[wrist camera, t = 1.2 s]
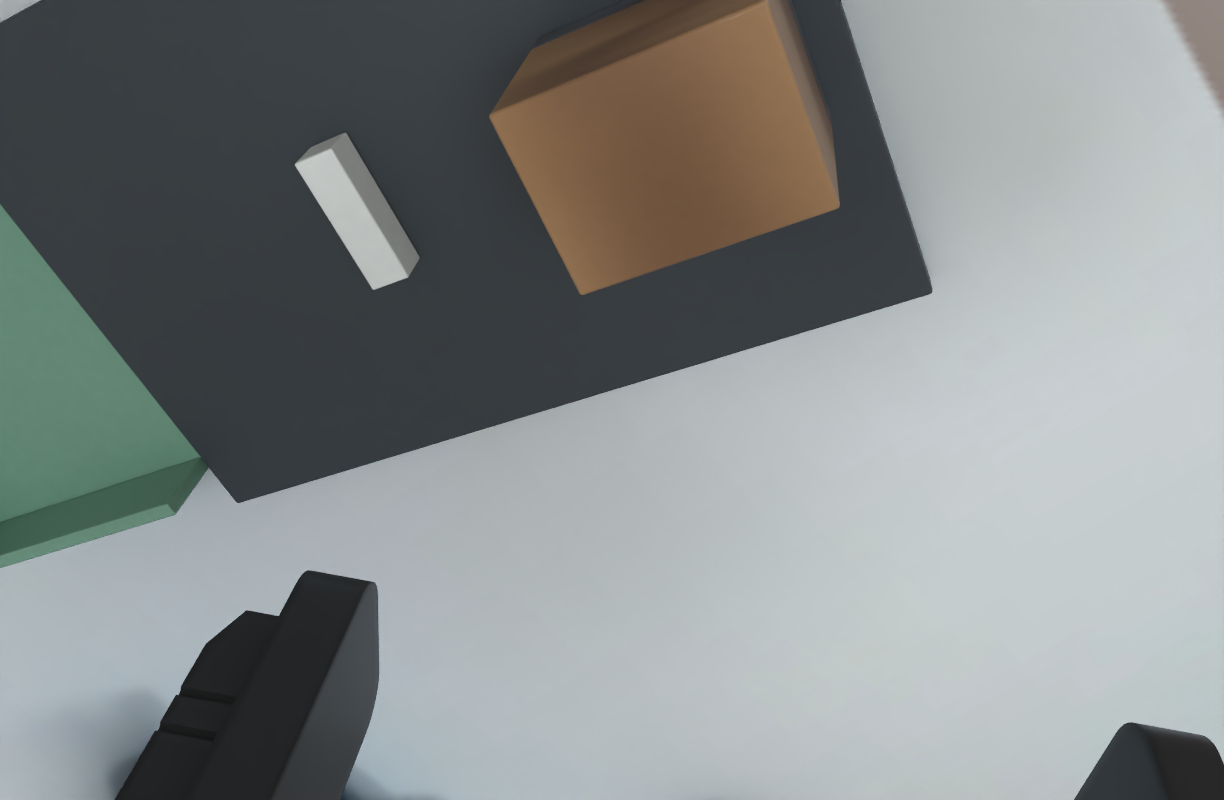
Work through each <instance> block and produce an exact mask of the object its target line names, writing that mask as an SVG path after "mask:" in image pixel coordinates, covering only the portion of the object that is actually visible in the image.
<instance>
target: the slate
mask: <svg viewBox="0 0 1224 800" xmlns="http://www.w3.org/2000/svg"><path fill="white" fill-rule="evenodd" d="M621 1H623V0H41V1H39V2H37V3H35V4H33V5H32V6H30V7H28V8H26V9H24V10H22V11H21V12H19V13H17V14H15V15H13V16H12V17H10V18H8V19H6V20H4V21H2V22H1V23H0V205H1V206H2V207H3V209H4V210H5V211H6V212H7V214H8V215H9V216H10V217H11V219H12V220H13V221H14V222H15V224H16V225H17V226H18V227H19V229H20V230H21V231H22V232H23V234H24V235H25V236H26V238H27V239H28V240H29V241H30V243H31V244H32V245H33V246H34V248H35V249H36V250H37V251H38V253H39V254H40V255H41V256H42V258H43V259H44V260H45V261H46V263H47V264H48V265H49V267H50V268H51V269H52V270H53V272H54V273H55V274H56V275H57V277H58V278H59V279H60V280H61V282H62V283H63V284H64V285H65V287H66V288H67V289H68V290H69V292H70V293H71V294H72V295H73V297H74V298H75V299H76V301H77V302H78V303H79V304H80V306H81V307H82V308H83V309H84V311H85V312H86V313H87V314H88V316H89V317H90V318H91V319H92V321H93V322H94V323H95V324H96V326H97V327H98V328H99V330H100V331H101V332H102V333H103V335H104V336H105V337H106V338H107V340H108V341H109V342H110V343H111V345H112V346H113V347H114V348H115V350H116V351H117V352H118V353H119V355H120V356H121V357H122V359H123V360H124V361H125V362H126V364H127V365H128V366H129V367H130V369H131V370H132V371H133V372H134V374H135V375H136V376H137V377H138V379H139V380H140V381H141V382H142V384H143V385H144V386H145V388H146V389H147V390H148V391H149V393H150V394H151V395H152V396H153V398H154V399H155V400H156V401H157V403H158V404H159V405H160V406H161V408H162V409H163V410H164V411H165V413H166V414H167V415H168V417H169V418H170V419H171V420H172V422H173V423H174V424H175V425H176V427H177V428H178V429H179V430H180V432H181V433H182V434H183V435H184V437H185V438H186V439H187V440H188V442H189V443H190V444H191V445H192V447H193V448H194V449H195V451H196V452H197V453H198V454H199V456H200V457H201V458H202V459H203V461H204V462H205V463H206V464H207V466H208V467H209V468H210V469H211V471H212V472H213V473H214V474H215V476H216V477H217V478H218V480H219V481H220V482H221V483H222V485H223V486H224V487H225V488H226V490H227V491H228V492H229V493H230V495H231V496H232V497H233V498H234V500H235V501H236V502H237V503H240V502H244V501H247V500H250V499H254V498H257V497H260V496H264V495H267V494H270V493H274V492H277V491H280V490H283V489H287V488H290V487H293V486H297V485H300V484H303V483H307V482H310V481H313V480H317V479H320V478H323V477H326V476H330V475H333V474H336V473H340V472H343V471H346V470H350V469H353V468H356V467H359V466H363V465H366V464H369V463H373V462H376V461H379V460H383V459H386V458H389V457H393V456H396V455H399V454H402V453H406V452H409V451H412V450H416V449H419V448H422V447H426V446H429V445H432V444H436V443H439V442H442V441H445V440H449V439H452V438H455V437H459V436H462V435H465V434H469V433H472V432H475V431H479V430H482V429H485V428H488V427H492V426H495V425H498V424H502V423H505V422H508V421H512V420H515V419H518V418H522V417H525V416H528V415H531V414H535V413H538V412H541V411H545V410H548V409H551V408H555V407H558V406H561V405H565V404H568V403H571V402H574V401H578V400H581V399H584V398H588V397H591V396H594V395H598V394H601V393H604V392H608V391H611V390H614V389H617V388H621V387H624V386H627V385H631V384H634V383H637V382H641V381H644V380H647V379H651V378H654V377H657V376H660V375H664V374H667V373H670V372H674V371H677V370H680V369H684V368H687V367H690V366H694V365H697V364H700V363H703V362H707V361H710V360H713V359H717V358H720V357H723V356H727V355H730V354H733V353H737V352H740V351H743V350H746V349H750V348H753V347H756V346H760V345H763V344H766V343H770V342H773V341H776V340H780V339H783V338H786V337H789V336H793V335H796V334H799V333H803V332H806V331H809V330H813V329H816V328H819V327H823V326H826V325H829V324H832V323H836V322H839V321H842V320H846V319H849V318H852V317H856V316H859V315H862V314H866V313H869V312H872V311H875V310H879V309H882V308H885V307H889V306H892V305H895V304H899V303H902V302H905V301H909V300H912V299H915V298H918V297H922V296H925V295H928V294H931V293H932V286H931V281H930V278H929V275H928V271H927V268H926V265H925V262H924V259H923V256H922V253H921V250H920V246H919V243H918V240H917V237H916V234H915V231H914V228H913V225H912V222H911V218H910V215H909V212H908V209H907V206H906V203H905V200H904V197H903V193H902V190H901V187H900V184H899V181H898V178H897V175H896V172H895V169H894V165H893V162H892V159H891V156H890V153H889V150H888V147H887V144H886V141H885V137H884V134H883V131H882V128H881V125H880V122H879V119H878V116H877V112H876V109H875V106H874V103H873V100H872V97H871V94H870V91H869V88H868V84H867V81H866V78H865V75H864V72H863V69H862V66H861V63H860V60H859V56H858V53H857V50H856V47H855V44H854V41H853V38H852V35H851V31H850V28H849V25H848V22H847V19H846V16H845V13H844V10H843V7H842V3H841V0H792V3H793V5H794V8H795V11H796V14H797V17H798V20H799V23H800V26H801V29H802V32H803V34H804V37H805V40H806V43H807V46H808V49H809V52H810V55H811V58H812V61H813V64H814V66H815V69H816V72H817V75H818V78H819V81H820V84H821V87H822V90H823V93H824V96H825V98H826V101H827V104H828V107H829V110H830V113H831V123H832V132H833V142H834V152H835V162H836V172H837V182H838V192H839V202H840V206H839V208H837V209H835V210H832V211H829V212H826V213H824V214H821V215H818V216H815V217H812V218H809V219H806V220H803V221H800V222H797V223H794V224H791V225H788V226H785V227H782V228H779V229H776V230H773V231H770V232H768V233H765V234H762V235H759V236H756V237H753V238H750V239H747V240H744V241H741V242H738V243H735V244H732V245H729V246H726V247H723V248H720V249H717V250H714V251H711V252H709V253H706V254H703V255H700V256H697V257H694V258H691V259H688V260H685V261H682V262H679V263H676V264H673V265H670V266H667V267H664V268H661V269H658V270H655V271H653V272H650V273H647V274H644V275H641V276H638V277H635V278H632V279H629V280H626V281H623V282H620V283H617V284H614V285H611V286H608V287H605V288H602V289H599V290H596V291H594V292H591V293H588V294H585V295H581V294H580V293H579V291H578V289H577V287H576V285H575V284H574V282H573V280H572V278H571V276H570V274H569V272H568V270H567V268H566V266H565V264H564V262H563V260H562V258H561V256H560V254H559V252H558V251H557V249H556V247H555V245H554V243H553V241H552V239H551V237H550V235H549V233H548V231H547V229H546V227H545V225H544V223H543V221H542V219H541V218H540V216H539V214H538V212H537V210H536V208H535V206H534V204H533V202H532V200H531V198H530V196H529V194H528V192H527V190H526V188H525V186H524V185H523V183H522V181H521V179H520V177H519V175H518V173H517V171H516V169H515V167H514V165H513V163H512V161H511V159H510V157H509V155H508V153H507V152H506V150H505V148H504V146H503V144H502V142H501V140H500V138H499V136H498V134H497V132H496V130H495V128H494V126H493V124H492V122H491V120H490V119H489V115H490V113H491V111H492V110H493V108H494V107H495V105H496V104H497V102H498V101H499V99H500V97H501V96H502V94H503V93H504V91H505V90H506V88H507V87H508V85H509V83H510V82H511V80H512V79H513V77H514V76H515V74H516V73H517V71H518V69H519V68H520V66H521V65H522V63H523V62H524V60H525V59H526V57H527V55H528V54H529V52H530V51H531V50H532V48H533V46H534V45H535V43H536V42H537V40H538V39H539V38H540V37H541V36H543V35H546V34H548V33H550V32H552V31H555V30H557V29H559V28H562V27H564V26H566V25H568V24H571V23H573V22H575V21H578V20H580V19H582V18H584V17H587V16H589V15H591V14H594V13H596V12H598V11H600V10H603V9H605V8H607V7H610V6H612V5H614V4H616V3H619V2H621ZM342 133H346V134H347V135H348V137H349V138H350V140H351V142H352V143H353V145H354V147H355V149H356V150H357V152H358V154H359V155H360V157H361V159H362V160H363V162H364V164H365V165H366V167H367V169H368V171H369V172H370V174H371V176H372V177H373V179H374V181H375V182H376V184H377V186H378V187H379V189H380V191H381V193H382V194H383V196H384V198H385V199H386V201H387V203H388V204H389V206H390V208H391V209H392V211H393V213H394V215H395V216H396V218H397V220H398V221H399V223H400V225H401V226H402V228H403V230H404V232H405V233H406V235H407V237H408V238H409V240H410V242H411V243H412V245H413V247H414V248H415V250H416V252H417V254H418V255H419V257H420V259H419V260H418V262H417V264H416V265H415V267H414V269H413V270H412V272H411V274H410V275H409V277H408V278H405V279H402V280H400V281H397V282H394V283H392V284H389V285H386V286H383V287H381V288H378V289H375V290H373V289H372V288H371V286H370V284H369V283H368V281H367V280H366V278H365V276H364V275H363V273H362V272H361V270H360V268H359V267H358V265H357V264H356V262H355V260H354V259H353V257H352V256H351V254H350V252H349V251H348V249H347V248H346V246H345V244H344V243H343V241H342V240H341V238H340V236H339V235H338V233H337V232H336V230H335V229H334V227H333V225H332V224H331V222H330V221H329V219H328V217H327V216H326V214H325V213H324V211H323V209H322V208H321V206H320V205H319V203H318V201H317V200H316V198H315V197H314V195H313V193H312V192H311V190H310V189H309V187H308V185H307V184H306V182H305V181H304V179H303V177H302V176H301V174H300V173H299V171H298V169H297V168H296V166H295V163H296V162H297V161H298V160H299V159H300V158H301V157H302V156H303V155H304V154H305V153H306V152H307V151H308V150H309V149H310V148H311V147H312V146H315V145H317V144H319V143H321V142H324V141H326V140H328V139H331V138H333V137H335V136H338V135H340V134H342Z"/></svg>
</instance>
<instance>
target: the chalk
mask: <svg viewBox="0 0 1224 800" xmlns="http://www.w3.org/2000/svg"><path fill="white" fill-rule="evenodd" d="M295 166H296V168H297V169H298V171H299V173H300V174H301V176H302V177H303V179H304V181H305V182H306V184H307V185H308V187H309V189H310V190H311V192H312V193H313V195H314V197H315V198H316V200H317V201H318V203H319V205H320V206H321V208H322V209H323V211H324V213H325V214H326V216H327V217H328V219H329V221H330V222H331V224H332V225H333V227H334V229H335V230H336V232H337V233H338V235H339V236H340V238H341V240H342V241H343V243H344V244H345V246H346V248H347V249H348V251H349V252H350V254H351V256H352V257H353V259H354V260H355V262H356V264H357V265H358V267H359V268H360V270H361V272H362V273H363V275H364V276H365V278H366V280H367V281H368V283H369V284H370V286H371V288H372V289H373V290H375V289H378V288H381V287H383V286H386V285H389V284H392V283H394V282H397V281H400V280H402V279H405V278H408V277H409V275H410V274H411V272H412V270H413V269H414V267H415V265H416V264H417V262H418V260H419V259H420V257H419V255H418V254H417V252H416V250H415V248H414V247H413V245H412V243H411V242H410V240H409V238H408V237H407V235H406V233H405V232H404V230H403V228H402V226H401V225H400V223H399V221H398V220H397V218H396V216H395V215H394V213H393V211H392V209H391V208H390V206H389V204H388V203H387V201H386V199H385V198H384V196H383V194H382V193H381V191H380V189H379V187H378V186H377V184H376V182H375V181H374V179H373V177H372V176H371V174H370V172H369V171H368V169H367V167H366V165H365V164H364V162H363V160H362V159H361V157H360V155H359V154H358V152H357V150H356V149H355V147H354V145H353V143H352V142H351V140H350V138H349V137H348V135H347V134H346V133H342V134H340V135H338V136H335V137H333V138H331V139H328V140H326V141H324V142H321V143H319V144H317V145H315V146H312V147H311V148H310V149H309V150H308V151H307V152H306V153H305V154H304V155H303V156H302V157H301V158H300V159H299V160H298V161H297V162H296V163H295Z"/></svg>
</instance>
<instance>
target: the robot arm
mask: <svg viewBox="0 0 1224 800" xmlns="http://www.w3.org/2000/svg"><path fill="white" fill-rule="evenodd" d="M378 681H379V635H378V591H377V586H376V584H375V583H374V582H371V581H365V580H360V579H354V578H349V577H343V576H338V575H332V574H327V573H321V572H316V571H309V570H308V571H306V572H304V573H303V574H302V575H301V577H300V578H299V580H298V581H297V583H296V585H295V587H294V589H293V590H292V592H291V594H290V596H289V598H288V600H287V602H286V604H285V606H284V608H283V609H282V611H281V613H280V615H279V616H274V615H269V614H263V613H258V612H253V611H247V610H246V611H245V612H244V613H243V614H242V615H240V616H239V617H238V618H237V619H236V620H234V621H233V622H232V623H231V624H229V625H228V626H227V627H226V628H225V629H223V630H222V631H221V632H220V633H219V634H217V635H216V636H215V637H214V638H212V639H211V640H210V641H209V642H208V643H206V645H205V646H204V648H203V650H202V651H201V653H200V655H199V657H198V658H197V660H196V662H195V663H194V665H193V667H192V669H191V670H190V672H189V674H188V675H187V677H186V679H185V681H184V682H183V684H182V686H181V691H180V694H179V695H176V696H175V698H174V699H173V701H172V703H171V704H170V706H169V708H168V710H167V711H166V713H165V715H164V716H163V718H162V720H161V722H160V728H159V730H158V731H155V732H154V734H153V735H152V737H151V739H150V740H149V742H148V744H147V745H146V747H145V749H144V751H143V752H142V754H141V756H140V757H139V759H138V761H137V763H136V764H135V766H134V768H133V769H132V771H131V773H130V775H129V776H128V778H127V780H126V781H125V783H124V785H123V786H122V788H121V790H120V792H119V793H118V795H117V797H116V798H115V800H340V799H341V796H342V793H343V791H344V788H345V786H346V783H347V781H348V778H349V775H350V773H351V770H352V768H353V765H354V762H355V760H356V757H357V755H358V752H359V750H360V747H361V744H362V742H363V739H364V737H365V734H366V731H367V729H368V726H369V723H370V720H371V716H372V712H373V709H374V704H375V700H376V695H377V689H378ZM1074 800H1224V764H1223V762H1222V759H1221V756H1220V754H1219V752H1218V750H1217V748H1216V747H1215V745H1214V744H1213V743H1212V742H1211V741H1210V740H1209V739H1208V738H1207V737H1205V736H1202V735H1198V734H1192V733H1187V732H1181V731H1176V730H1170V729H1165V728H1159V727H1154V726H1148V725H1143V724H1137V723H1126V724H1124V725H1123V726H1122V727H1121V728H1120V729H1119V730H1118V731H1117V733H1116V734H1115V736H1114V737H1113V739H1112V740H1111V742H1110V744H1109V745H1108V747H1107V748H1106V750H1105V751H1104V753H1103V755H1102V756H1101V758H1100V759H1099V761H1098V763H1097V764H1096V766H1095V767H1094V769H1093V770H1092V772H1091V774H1090V775H1089V777H1088V778H1087V780H1086V782H1085V783H1084V785H1083V786H1082V788H1081V789H1080V791H1079V793H1078V794H1077V796H1076V797H1075V799H1074Z"/></svg>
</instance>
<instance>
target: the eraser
mask: <svg viewBox="0 0 1224 800" xmlns="http://www.w3.org/2000/svg"><path fill="white" fill-rule="evenodd" d="M489 119H490V120H491V122H492V124H493V126H494V128H495V130H496V132H497V134H498V136H499V138H500V140H501V142H502V144H503V146H504V148H505V150H506V152H507V153H508V155H509V157H510V159H511V161H512V163H513V165H514V167H515V169H516V171H517V173H518V175H519V177H520V179H521V181H522V183H523V185H524V186H525V188H526V190H527V192H528V194H529V196H530V198H531V200H532V202H533V204H534V206H535V208H536V210H537V212H538V214H539V216H540V218H541V219H542V221H543V223H544V225H545V227H546V229H547V231H548V233H549V235H550V237H551V239H552V241H553V243H554V245H555V247H556V249H557V251H558V252H559V254H560V256H561V258H562V260H563V262H564V264H565V266H566V268H567V270H568V272H569V274H570V276H571V278H572V280H573V282H574V284H575V285H576V287H577V289H578V291H579V293H580V294H581V295H585V294H588V293H591V292H594V291H596V290H599V289H602V288H605V287H608V286H611V285H614V284H617V283H620V282H623V281H626V280H629V279H632V278H635V277H638V276H641V275H644V274H647V273H650V272H653V271H655V270H658V269H661V268H664V267H667V266H670V265H673V264H676V263H679V262H682V261H685V260H688V259H691V258H694V257H697V256H700V255H703V254H706V253H709V252H711V251H714V250H717V249H720V248H723V247H726V246H729V245H732V244H735V243H738V242H741V241H744V240H747V239H750V238H753V237H756V236H759V235H762V234H765V233H768V232H770V231H773V230H776V229H779V228H782V227H785V226H788V225H791V224H794V223H797V222H800V221H803V220H806V219H809V218H812V217H815V216H818V215H821V214H824V213H826V212H829V211H832V210H835V209H837V208H839V206H840V202H839V192H838V182H837V172H836V162H835V152H834V142H833V132H832V123H831V113H830V110H829V107H828V104H827V101H826V98H825V96H824V93H823V90H822V87H821V84H820V81H819V78H818V75H817V72H816V69H815V66H814V64H813V61H812V58H811V55H810V52H809V49H808V46H807V43H806V40H805V37H804V34H803V32H802V29H801V26H800V23H799V20H798V17H797V14H796V11H795V8H794V5H793V3H792V0H623V1H621V2H619V3H616V4H614V5H612V6H610V7H607V8H605V9H603V10H600V11H598V12H596V13H594V14H591V15H589V16H587V17H584V18H582V19H580V20H578V21H575V22H573V23H571V24H568V25H566V26H564V27H562V28H559V29H557V30H555V31H552V32H550V33H548V34H546V35H543V36H541V37H540V38H539V39H538V40H537V42H536V43H535V45H534V46H533V48H532V50H531V51H530V52H529V54H528V55H527V57H526V59H525V60H524V62H523V63H522V65H521V66H520V68H519V69H518V71H517V73H516V74H515V76H514V77H513V79H512V80H511V82H510V83H509V85H508V87H507V88H506V90H505V91H504V93H503V94H502V96H501V97H500V99H499V101H498V102H497V104H496V105H495V107H494V108H493V110H492V111H491V113H490V115H489Z"/></svg>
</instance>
